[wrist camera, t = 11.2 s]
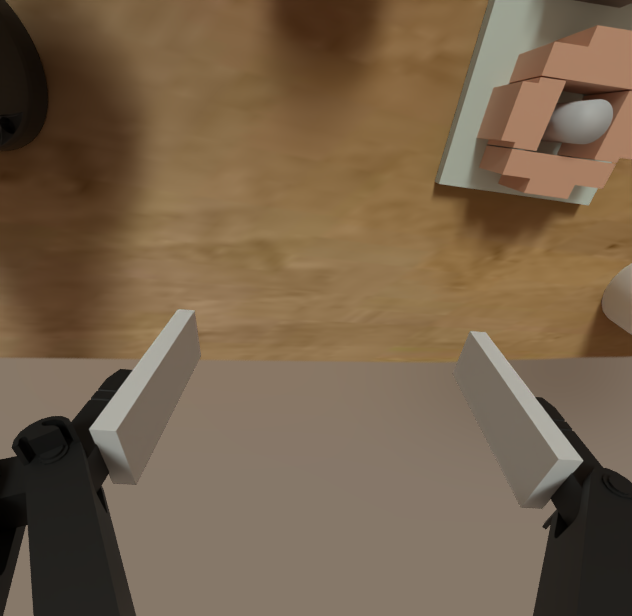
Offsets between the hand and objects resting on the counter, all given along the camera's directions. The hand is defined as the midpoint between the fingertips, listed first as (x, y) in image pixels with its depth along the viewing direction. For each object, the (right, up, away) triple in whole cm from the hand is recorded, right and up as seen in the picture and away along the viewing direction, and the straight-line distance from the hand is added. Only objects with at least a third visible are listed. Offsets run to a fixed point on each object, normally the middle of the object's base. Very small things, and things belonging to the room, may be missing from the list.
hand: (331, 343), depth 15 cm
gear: (+21, +19, +14) cm, 31 cm away
